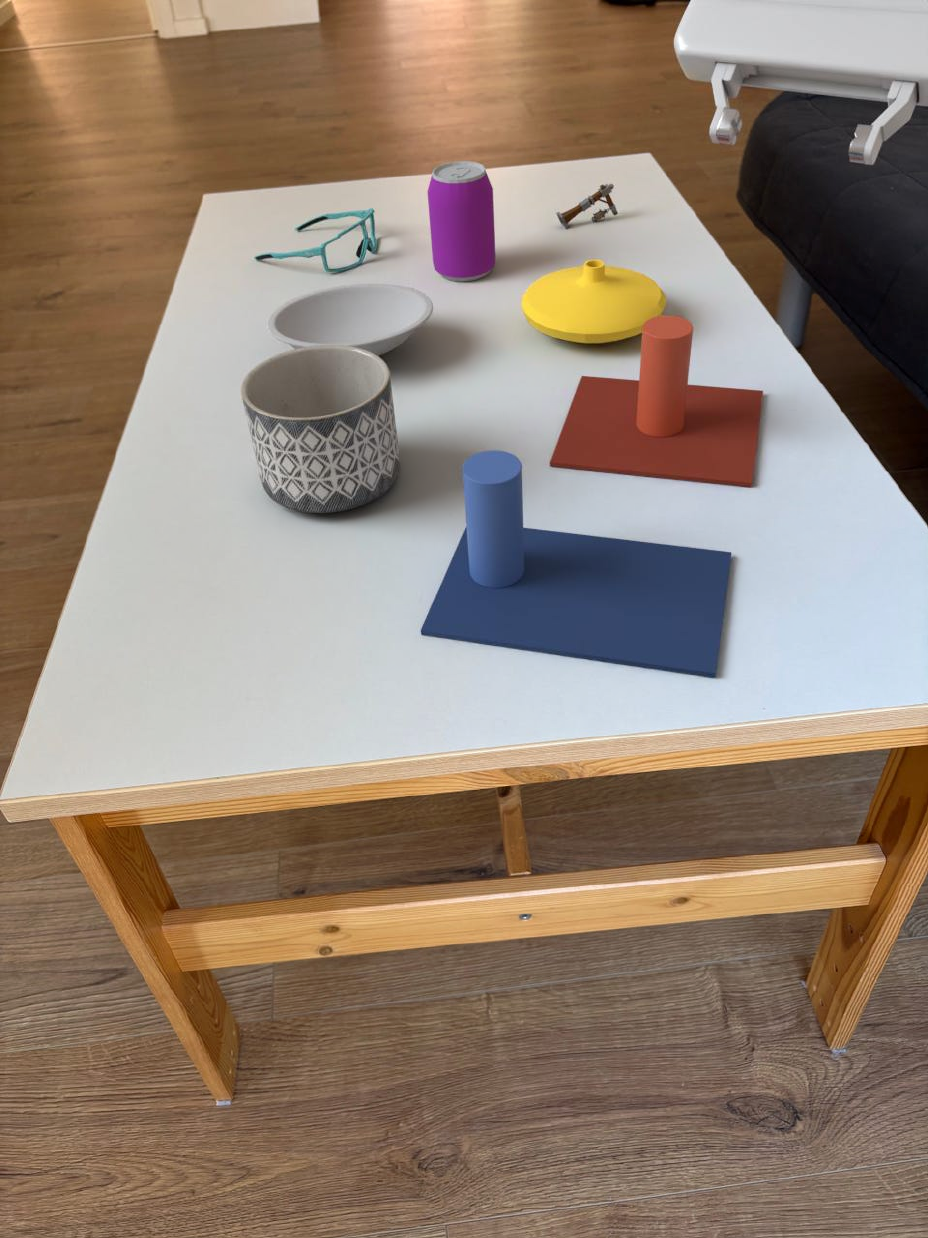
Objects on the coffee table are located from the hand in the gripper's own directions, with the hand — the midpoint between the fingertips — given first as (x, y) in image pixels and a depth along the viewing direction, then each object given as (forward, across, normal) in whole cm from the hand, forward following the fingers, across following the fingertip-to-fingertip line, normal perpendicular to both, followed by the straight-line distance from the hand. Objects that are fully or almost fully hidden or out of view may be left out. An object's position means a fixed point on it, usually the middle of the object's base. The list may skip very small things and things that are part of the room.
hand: (788, 149), depth 67 cm
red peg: (+14, -11, +27) cm, 32 cm away
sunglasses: (+2, -67, +40) cm, 78 cm away
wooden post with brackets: (-15, -41, +56) cm, 72 cm away
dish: (+16, -46, +26) cm, 55 cm away
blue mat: (+32, -6, +10) cm, 34 cm away
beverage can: (-1, -48, +42) cm, 64 cm away
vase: (+4, -27, +38) cm, 47 cm away
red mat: (+15, -11, +27) cm, 33 cm away
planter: (+30, -33, +12) cm, 46 cm away
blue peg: (+33, -13, +8) cm, 36 cm away
